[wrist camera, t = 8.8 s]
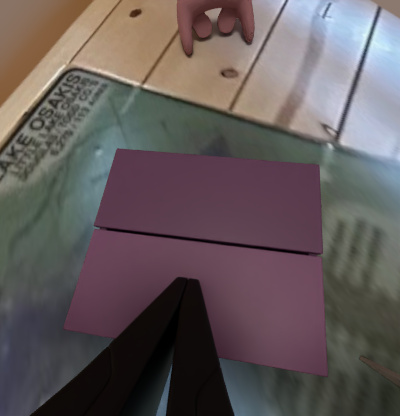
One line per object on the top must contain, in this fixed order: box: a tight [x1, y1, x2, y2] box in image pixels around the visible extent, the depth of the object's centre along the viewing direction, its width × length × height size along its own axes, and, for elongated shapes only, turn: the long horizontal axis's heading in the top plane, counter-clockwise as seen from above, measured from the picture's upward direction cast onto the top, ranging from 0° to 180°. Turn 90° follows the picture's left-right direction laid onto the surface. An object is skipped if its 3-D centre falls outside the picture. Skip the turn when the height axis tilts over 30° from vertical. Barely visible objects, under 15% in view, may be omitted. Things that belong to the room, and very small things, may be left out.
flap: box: [63, 229, 328, 377], centre depth 12 cm, size 5×13×1 cm, turn 82°
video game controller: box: [177, 0, 254, 55], centre depth 29 cm, size 10×5×7 cm, turn 101°
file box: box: [94, 149, 323, 256], centre depth 17 cm, size 11×13×9 cm
